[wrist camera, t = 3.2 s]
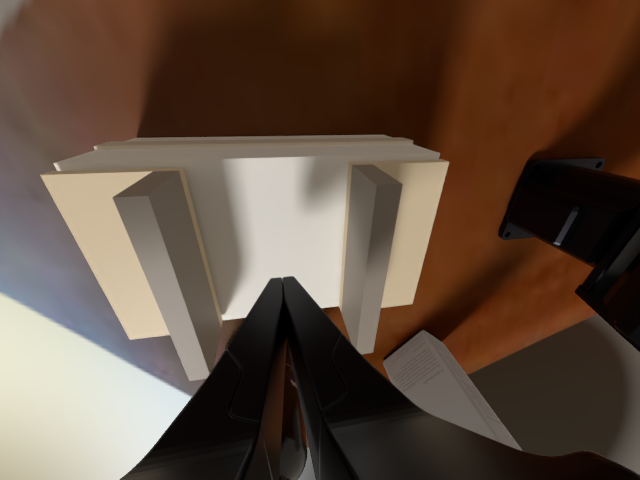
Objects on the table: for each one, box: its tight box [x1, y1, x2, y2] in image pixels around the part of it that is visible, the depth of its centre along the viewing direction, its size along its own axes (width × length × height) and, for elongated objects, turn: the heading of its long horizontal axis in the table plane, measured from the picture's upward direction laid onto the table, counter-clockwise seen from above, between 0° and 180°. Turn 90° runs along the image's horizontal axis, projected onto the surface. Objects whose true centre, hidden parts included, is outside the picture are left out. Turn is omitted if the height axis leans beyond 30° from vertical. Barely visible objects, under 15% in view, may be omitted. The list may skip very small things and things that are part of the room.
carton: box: [54, 135, 440, 320], centre depth 14 cm, size 14×8×6 cm, turn 89°
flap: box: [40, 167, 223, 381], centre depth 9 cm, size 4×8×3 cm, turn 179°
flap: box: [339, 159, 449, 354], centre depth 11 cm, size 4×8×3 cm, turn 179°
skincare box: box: [383, 330, 522, 451], centre depth 22 cm, size 6×4×12 cm
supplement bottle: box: [226, 341, 307, 480], centre depth 18 cm, size 7×7×12 cm
